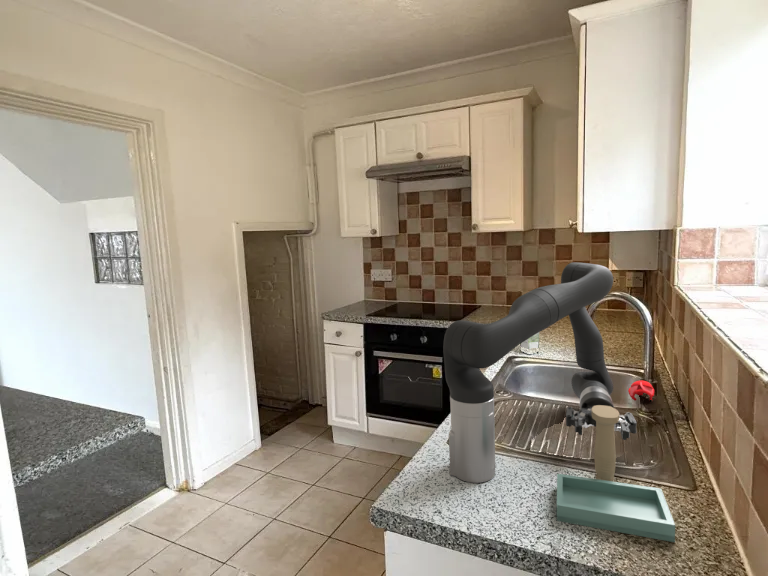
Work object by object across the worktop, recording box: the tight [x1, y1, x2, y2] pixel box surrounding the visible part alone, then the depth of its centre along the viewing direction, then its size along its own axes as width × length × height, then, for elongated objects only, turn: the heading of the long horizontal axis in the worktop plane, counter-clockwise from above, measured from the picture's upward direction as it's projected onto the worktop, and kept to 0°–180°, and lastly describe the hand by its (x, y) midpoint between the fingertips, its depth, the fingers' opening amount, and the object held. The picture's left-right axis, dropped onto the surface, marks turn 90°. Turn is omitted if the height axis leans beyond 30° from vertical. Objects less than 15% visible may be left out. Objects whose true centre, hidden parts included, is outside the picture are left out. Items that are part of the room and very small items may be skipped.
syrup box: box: [519, 332, 540, 349], centre depth 187 cm, size 6×6×14 cm
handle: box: [592, 405, 621, 482], centre depth 89 cm, size 5×6×15 cm
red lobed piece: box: [628, 380, 655, 402], centre depth 131 cm, size 8×6×6 cm
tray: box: [556, 473, 676, 543], centre depth 80 cm, size 18×11×3 cm, turn 68°
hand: (602, 433), depth 94 cm, fingers open, 8 cm apart
